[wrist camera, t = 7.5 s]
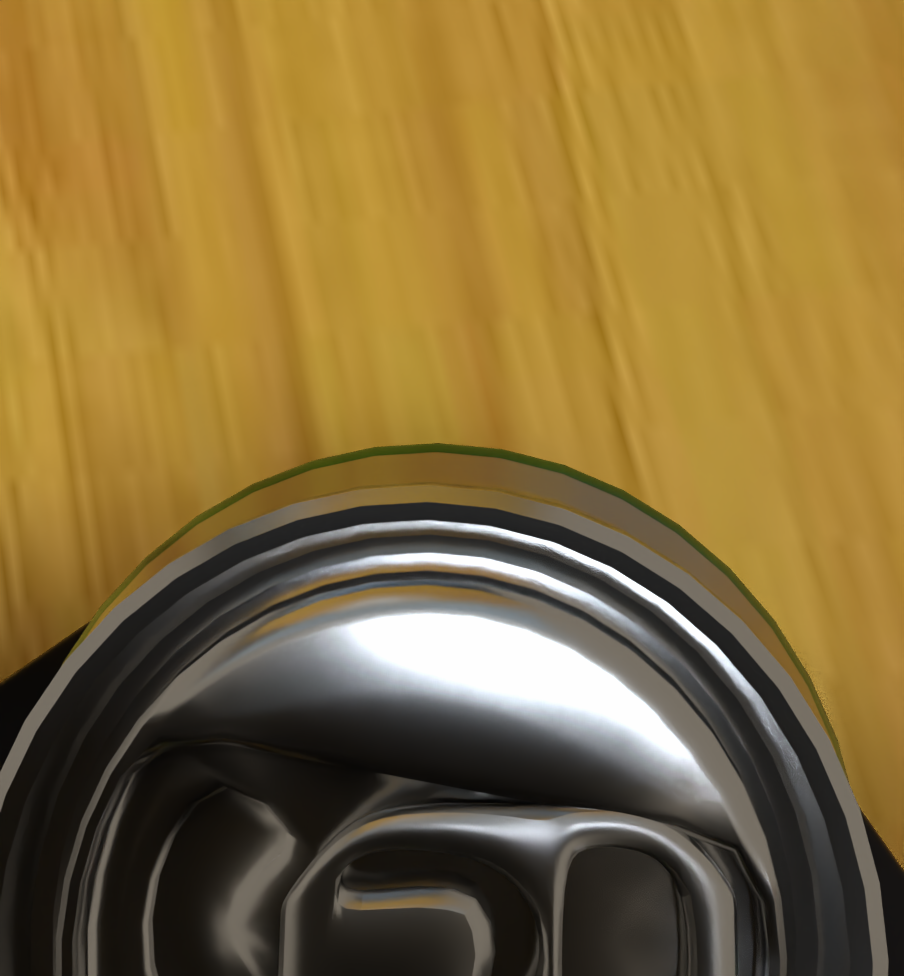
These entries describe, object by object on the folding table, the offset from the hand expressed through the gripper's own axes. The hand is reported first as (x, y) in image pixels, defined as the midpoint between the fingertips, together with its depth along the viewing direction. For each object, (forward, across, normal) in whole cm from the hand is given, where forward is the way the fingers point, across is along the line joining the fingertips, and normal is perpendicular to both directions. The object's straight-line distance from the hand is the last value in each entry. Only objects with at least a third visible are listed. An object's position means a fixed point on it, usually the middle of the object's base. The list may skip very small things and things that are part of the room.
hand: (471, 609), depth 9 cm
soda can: (+4, 0, +6) cm, 7 cm away
